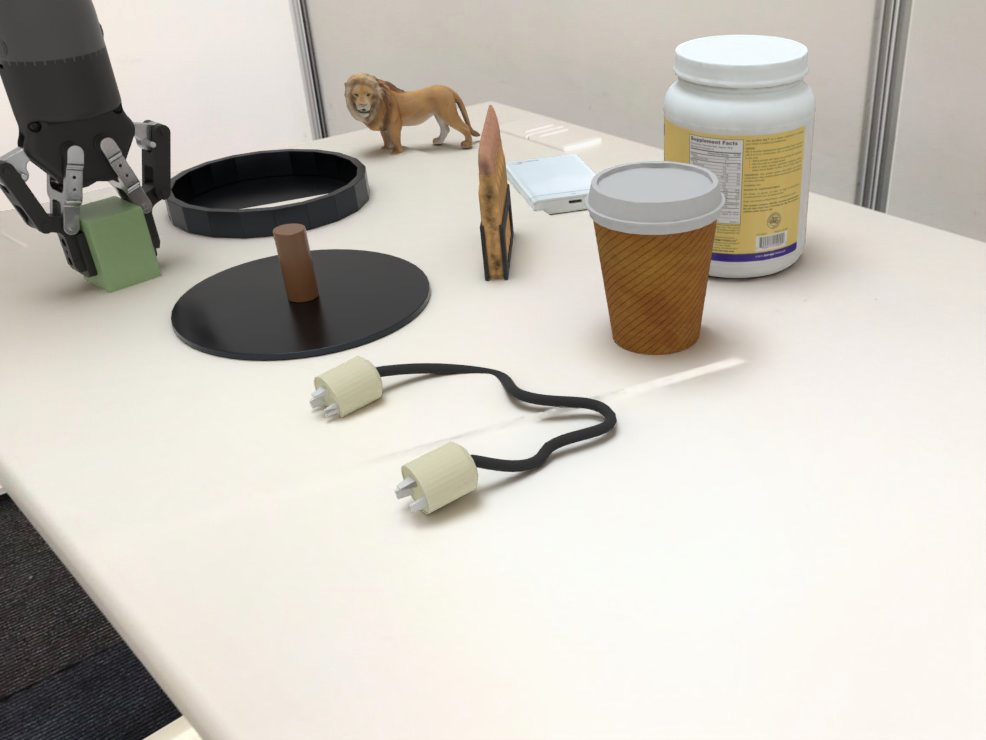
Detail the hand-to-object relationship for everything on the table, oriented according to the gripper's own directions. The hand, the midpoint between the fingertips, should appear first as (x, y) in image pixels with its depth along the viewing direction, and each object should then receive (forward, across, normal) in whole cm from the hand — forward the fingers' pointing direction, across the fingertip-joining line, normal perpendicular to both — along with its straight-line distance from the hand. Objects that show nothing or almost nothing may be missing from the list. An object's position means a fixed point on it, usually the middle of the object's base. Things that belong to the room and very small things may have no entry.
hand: (118, 263), depth 86 cm
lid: (+1, -7, +16) cm, 18 cm away
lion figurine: (+2, -38, -9) cm, 40 cm away
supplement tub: (+2, -37, +36) cm, 51 cm away
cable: (+2, -3, +39) cm, 39 cm away
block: (+1, 0, 0) cm, 1 cm away
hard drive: (+2, -39, +12) cm, 41 cm away
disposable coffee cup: (+2, -20, +41) cm, 46 cm away
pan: (+2, -18, -6) cm, 19 cm away
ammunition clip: (+2, -23, +21) cm, 31 cm away
